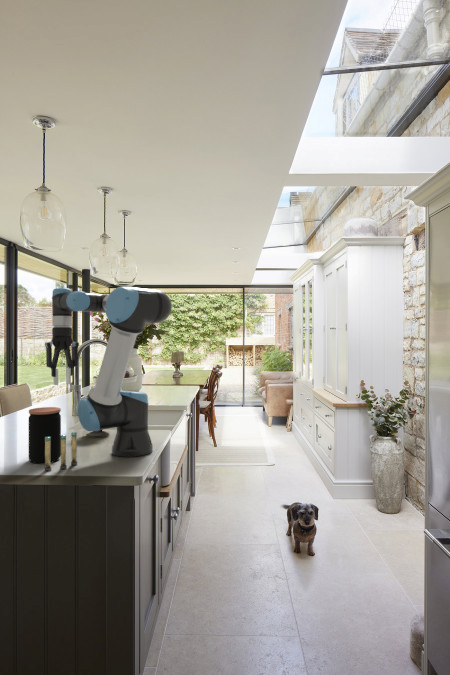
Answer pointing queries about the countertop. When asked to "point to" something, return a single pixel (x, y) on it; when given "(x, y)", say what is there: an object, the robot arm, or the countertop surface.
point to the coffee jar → (44, 433)
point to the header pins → (63, 452)
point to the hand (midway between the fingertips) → (62, 384)
